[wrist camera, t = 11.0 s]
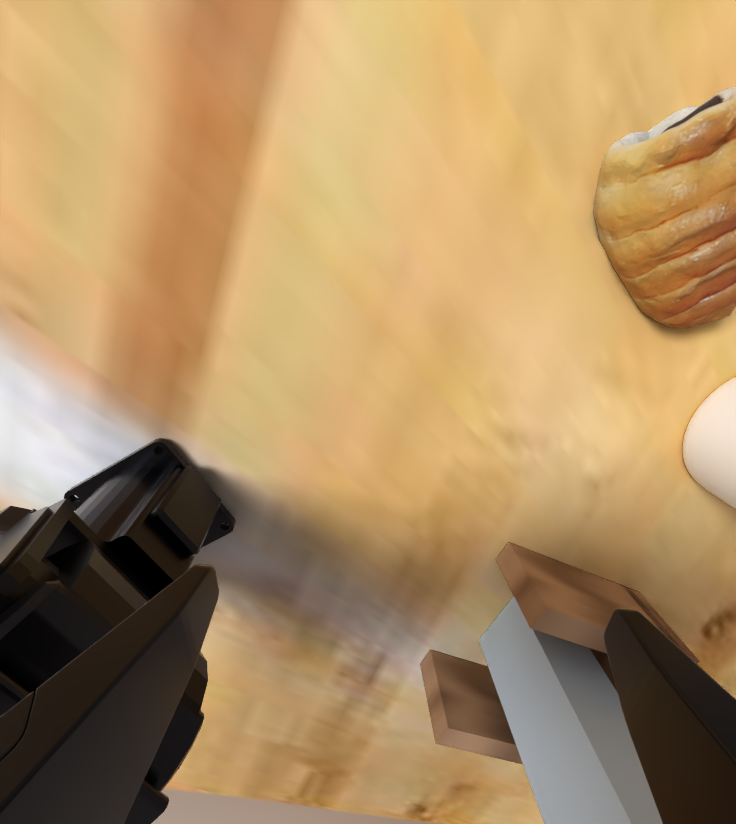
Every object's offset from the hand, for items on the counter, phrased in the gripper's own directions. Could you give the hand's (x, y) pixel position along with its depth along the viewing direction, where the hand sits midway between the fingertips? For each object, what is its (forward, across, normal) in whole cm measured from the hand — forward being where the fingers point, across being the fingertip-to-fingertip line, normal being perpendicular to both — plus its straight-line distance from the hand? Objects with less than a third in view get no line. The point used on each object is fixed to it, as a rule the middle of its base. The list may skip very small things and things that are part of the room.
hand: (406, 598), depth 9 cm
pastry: (+16, -11, -8) cm, 21 cm away
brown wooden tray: (+13, -9, +18) cm, 24 cm away
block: (+13, -9, +18) cm, 24 cm away
